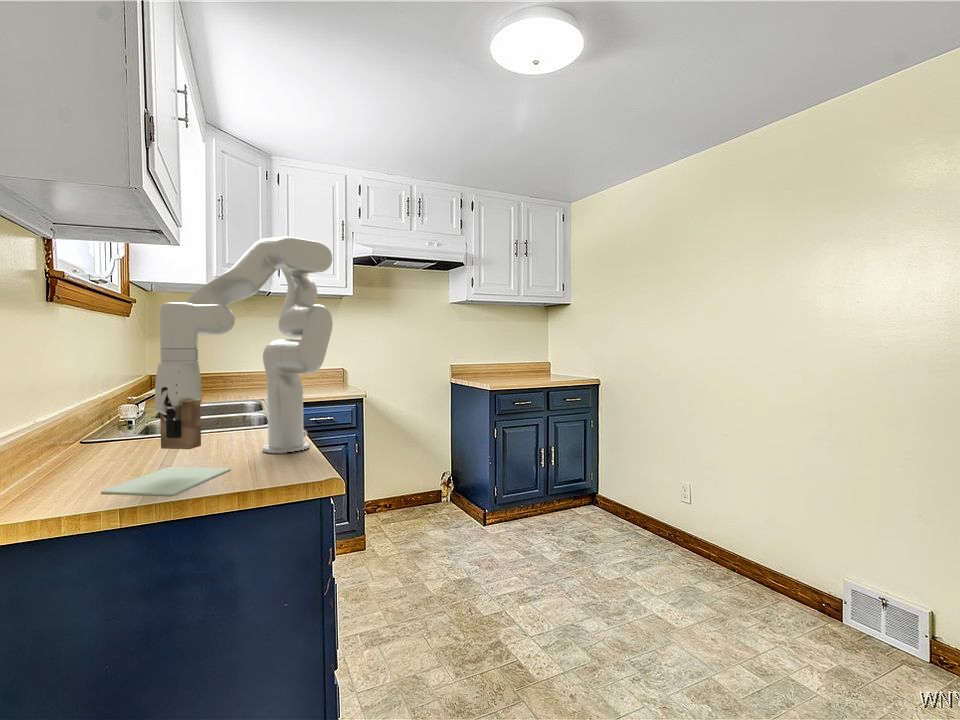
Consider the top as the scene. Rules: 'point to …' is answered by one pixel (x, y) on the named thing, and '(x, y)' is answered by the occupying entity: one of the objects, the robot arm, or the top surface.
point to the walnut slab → (184, 427)
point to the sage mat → (167, 481)
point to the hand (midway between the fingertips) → (180, 435)
